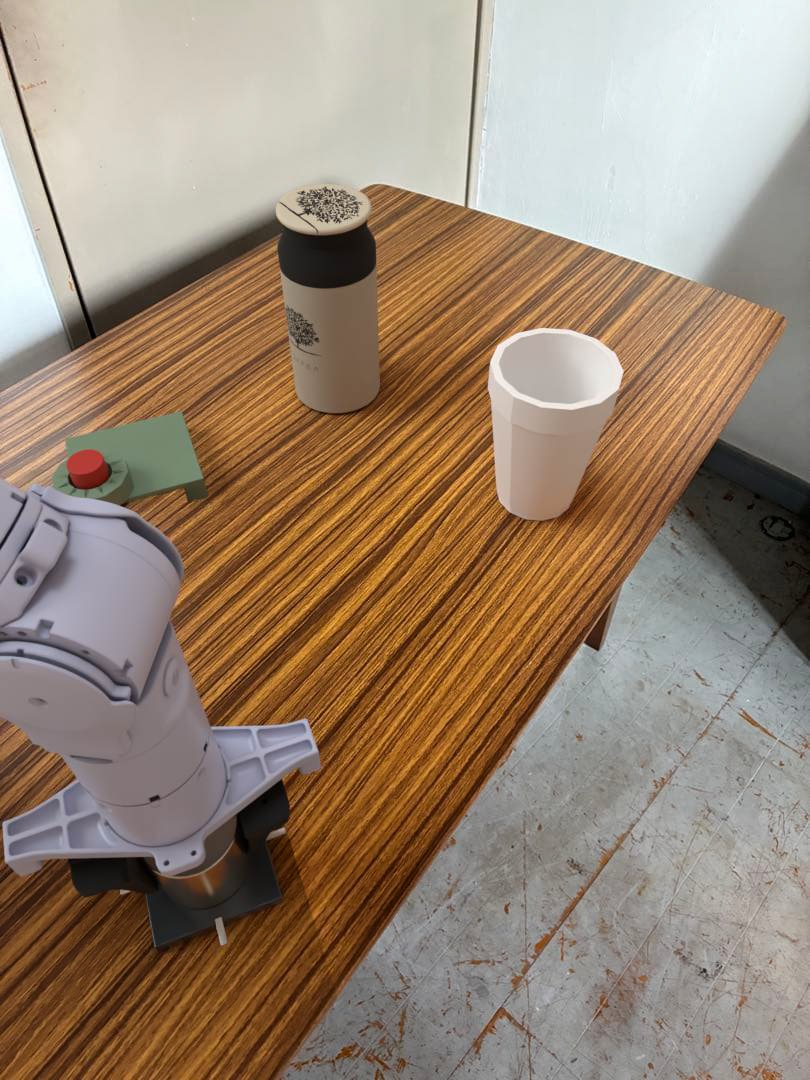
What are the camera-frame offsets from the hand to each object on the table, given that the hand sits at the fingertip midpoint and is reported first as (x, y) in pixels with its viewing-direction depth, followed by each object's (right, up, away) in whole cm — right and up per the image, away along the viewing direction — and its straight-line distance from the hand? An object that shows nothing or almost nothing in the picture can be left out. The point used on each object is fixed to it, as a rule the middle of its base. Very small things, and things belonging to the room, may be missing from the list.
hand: (201, 855), depth 45 cm
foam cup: (+22, +21, +23) cm, 38 cm away
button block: (-11, +23, +24) cm, 35 cm away
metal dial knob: (0, 0, +1) cm, 1 cm away
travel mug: (+5, +32, +32) cm, 45 cm away
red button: (-13, +23, +19) cm, 32 cm away
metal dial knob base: (0, -2, +3) cm, 3 cm away
